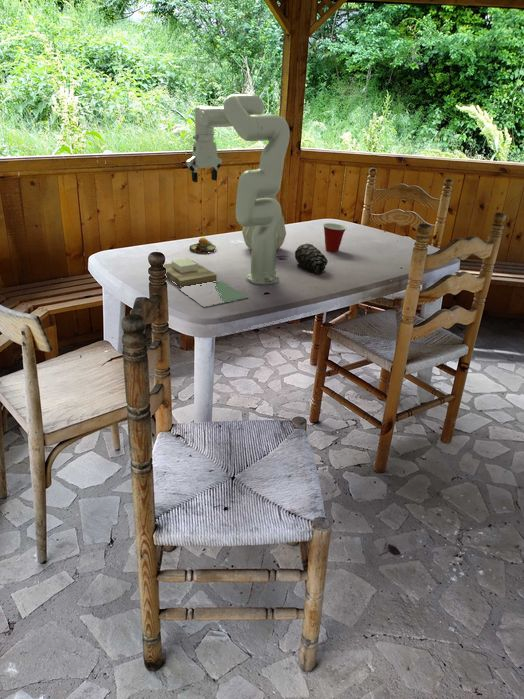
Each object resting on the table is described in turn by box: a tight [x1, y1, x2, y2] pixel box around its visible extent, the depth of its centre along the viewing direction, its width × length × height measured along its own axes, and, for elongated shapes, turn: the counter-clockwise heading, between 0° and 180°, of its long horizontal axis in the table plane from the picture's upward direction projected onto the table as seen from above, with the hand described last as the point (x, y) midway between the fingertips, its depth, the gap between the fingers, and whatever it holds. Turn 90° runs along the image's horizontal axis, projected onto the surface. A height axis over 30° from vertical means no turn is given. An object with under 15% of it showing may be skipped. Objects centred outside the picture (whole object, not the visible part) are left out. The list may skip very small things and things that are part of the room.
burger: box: [189, 236, 217, 254], centre depth 248 cm, size 12×12×8 cm
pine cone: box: [294, 243, 328, 276], centre depth 230 cm, size 10×18×10 cm, turn 36°
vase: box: [241, 194, 287, 251], centre depth 247 cm, size 20×20×30 cm
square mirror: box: [200, 280, 249, 303], centre depth 202 cm, size 19×18×1 cm
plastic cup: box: [322, 222, 347, 254], centre depth 254 cm, size 11×11×12 cm
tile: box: [171, 258, 197, 273], centre depth 216 cm, size 8×7×2 cm
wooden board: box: [163, 259, 217, 287], centre depth 216 cm, size 20×15×3 cm
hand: (204, 180), depth 235 cm, fingers open, 9 cm apart
